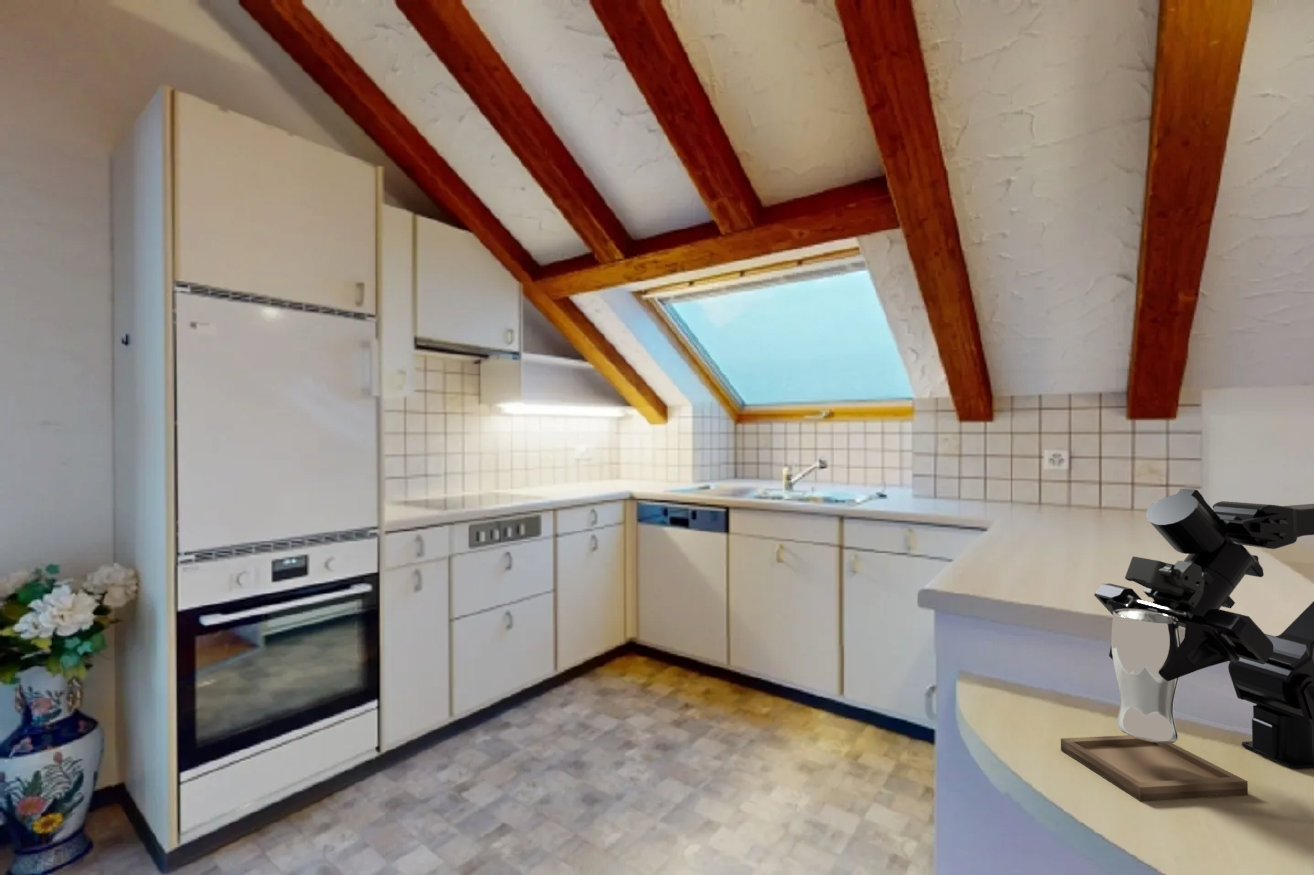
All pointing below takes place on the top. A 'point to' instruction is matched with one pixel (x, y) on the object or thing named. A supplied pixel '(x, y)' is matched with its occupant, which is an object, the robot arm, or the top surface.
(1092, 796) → the top surface
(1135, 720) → the silver metal tumbler
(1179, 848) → the top surface
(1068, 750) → the walnut tray
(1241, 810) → the top surface
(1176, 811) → the top surface
